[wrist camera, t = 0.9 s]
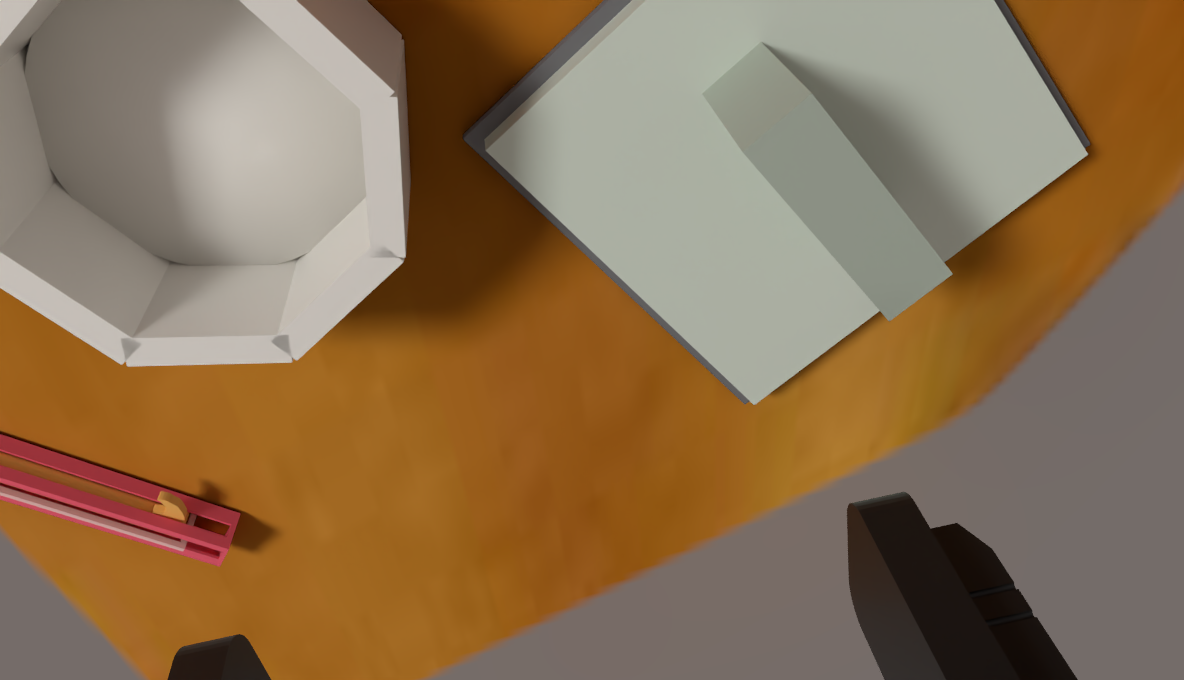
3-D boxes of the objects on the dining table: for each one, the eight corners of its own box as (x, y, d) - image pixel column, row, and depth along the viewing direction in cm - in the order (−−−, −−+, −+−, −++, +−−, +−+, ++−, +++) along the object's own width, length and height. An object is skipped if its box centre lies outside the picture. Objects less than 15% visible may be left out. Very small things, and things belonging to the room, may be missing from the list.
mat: (854, -239, 28) (859, -238, 27) (1084, 140, 35) (1090, 143, 35) (462, 134, 32) (462, 139, 32) (742, 398, 40) (745, 404, 39)
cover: (854, -210, 28) (945, -195, 23) (1072, 143, 35) (1178, 215, 30) (484, 139, 32) (492, 217, 27) (747, 390, 39) (792, 489, 34)
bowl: (168, -193, 26) (110, -174, 21) (483, 114, 32) (491, 181, 27) (-75, 108, 29) (-170, 180, 25) (251, 336, 35) (222, 429, 30)
